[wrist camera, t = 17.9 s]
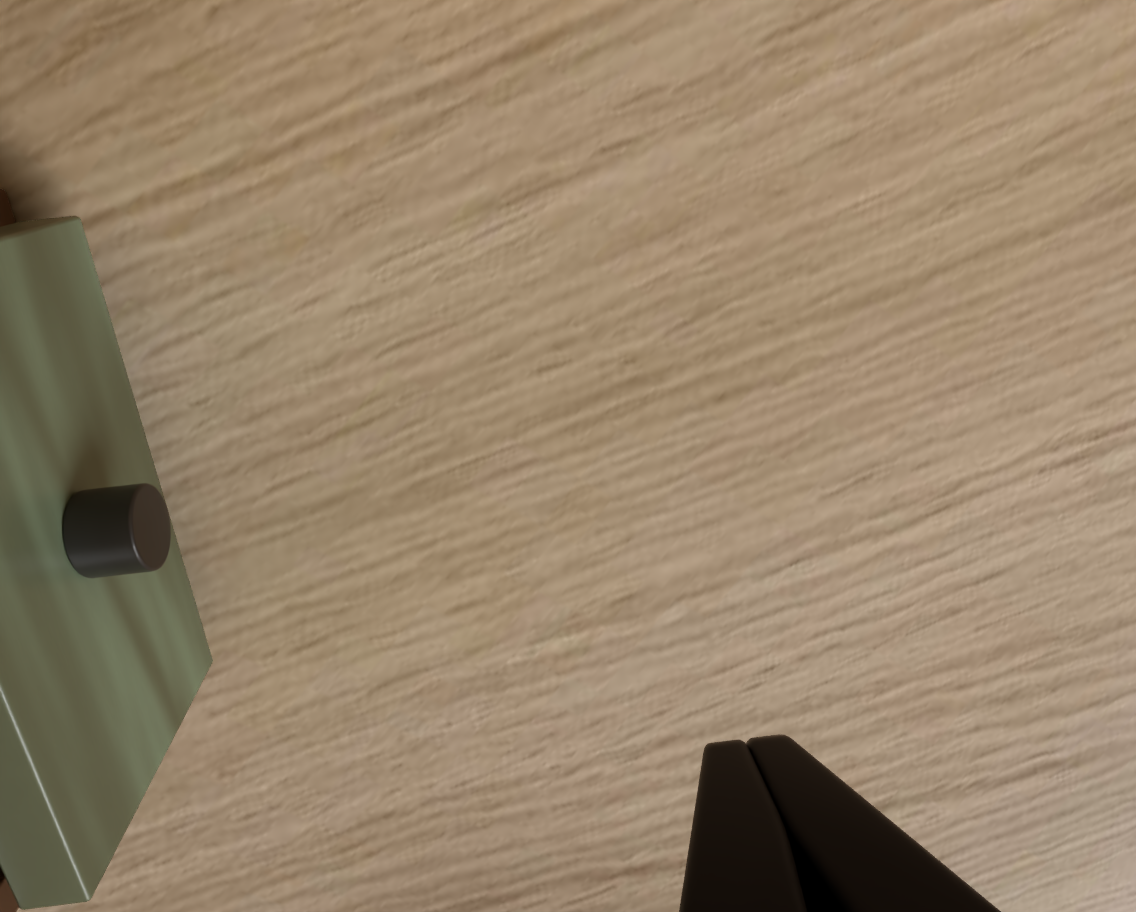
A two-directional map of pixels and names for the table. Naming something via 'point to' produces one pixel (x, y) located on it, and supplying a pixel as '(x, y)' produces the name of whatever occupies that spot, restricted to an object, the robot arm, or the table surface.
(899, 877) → the robot arm
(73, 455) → the drawer
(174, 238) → the table surface
